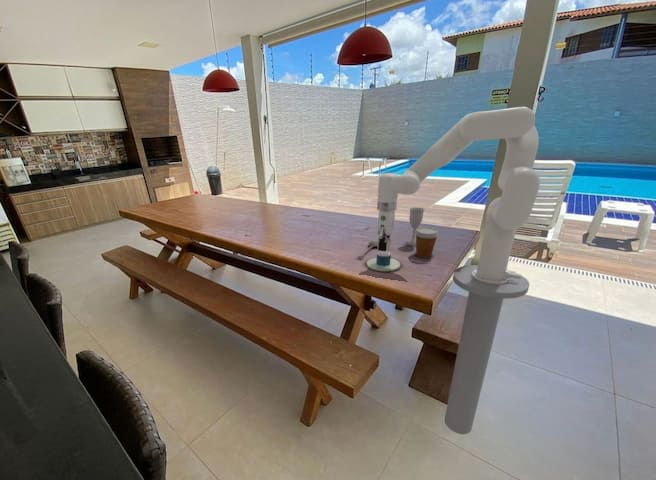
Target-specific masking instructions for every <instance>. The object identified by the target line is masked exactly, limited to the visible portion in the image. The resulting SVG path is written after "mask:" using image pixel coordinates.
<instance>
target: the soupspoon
mask: <svg viewBox="0 0 656 480" xmlns="http://www.w3.org/2000/svg"><path fill="white" fill-rule="evenodd" d="M368 245H369V247H367V249H366V250H365V251H364V252H363V253H361V255H358V256H357V259H358V260H362V259H363V258H362V257H363V256H365V254H366V253H367V252H368V251H370V250H371V249H372V248H374V247H378V240H377V241H376V240H372V241H369V242H368Z"/></svg>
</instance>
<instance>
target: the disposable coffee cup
mask: <svg viewBox="0 0 656 480" xmlns="http://www.w3.org/2000/svg"><path fill="white" fill-rule="evenodd" d="M438 236H439V231H438V229H436V228H433V227H427V226H426V227H425V226H424V227H423V226H422V227H418V228H416V229H415V240H416V245H415V251H416V252H415V255H416V256H417V257H419V258H423V259H425V258H427V259H428V258H431V257H432V255H433V254H432V253H433V251H434V248H435V245H436V241H437V238H438Z"/></svg>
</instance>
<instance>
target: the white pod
mask: <svg viewBox="0 0 656 480" xmlns="http://www.w3.org/2000/svg"><path fill="white" fill-rule="evenodd" d="M384 238H385V237H384ZM377 242H378V243H379V237H378V238H377ZM386 242H387V246H386V252H389V251H391V244H392V238H391V237H389V238H386ZM377 250H378V247H377Z"/></svg>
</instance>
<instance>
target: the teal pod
mask: <svg viewBox="0 0 656 480" xmlns="http://www.w3.org/2000/svg"><path fill="white" fill-rule="evenodd" d="M376 258H377V260H376V263H377V264H378V265H381V266H387V265H390V260H391V258H392V253H391V252H389V251H377V252H376Z"/></svg>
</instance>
